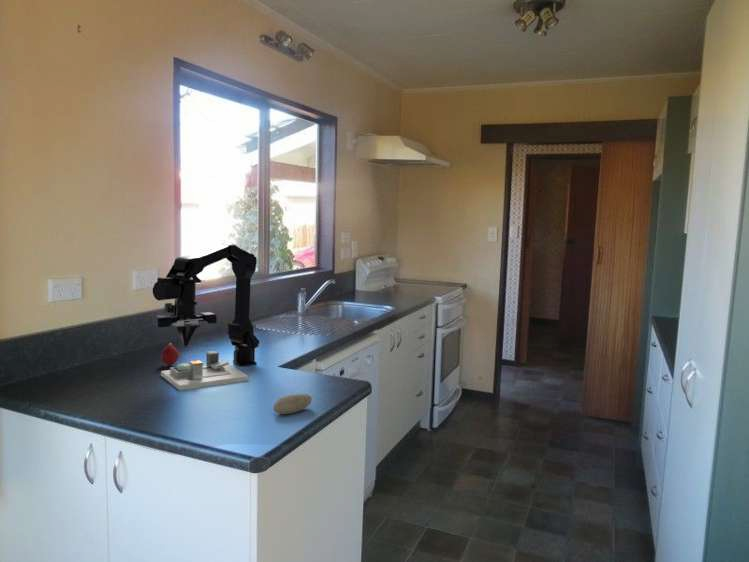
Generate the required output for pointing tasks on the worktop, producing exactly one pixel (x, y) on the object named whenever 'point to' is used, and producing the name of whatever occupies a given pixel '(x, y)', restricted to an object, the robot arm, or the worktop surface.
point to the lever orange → (196, 369)
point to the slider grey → (211, 358)
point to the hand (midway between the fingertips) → (185, 346)
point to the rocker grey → (219, 364)
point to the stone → (292, 403)
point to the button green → (183, 367)
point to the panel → (203, 377)
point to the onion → (169, 355)
